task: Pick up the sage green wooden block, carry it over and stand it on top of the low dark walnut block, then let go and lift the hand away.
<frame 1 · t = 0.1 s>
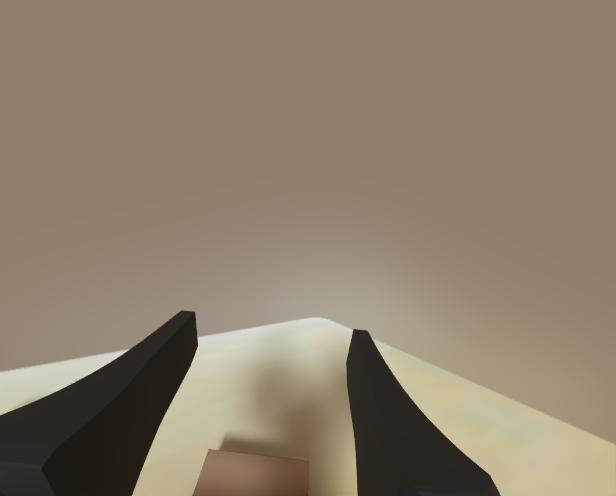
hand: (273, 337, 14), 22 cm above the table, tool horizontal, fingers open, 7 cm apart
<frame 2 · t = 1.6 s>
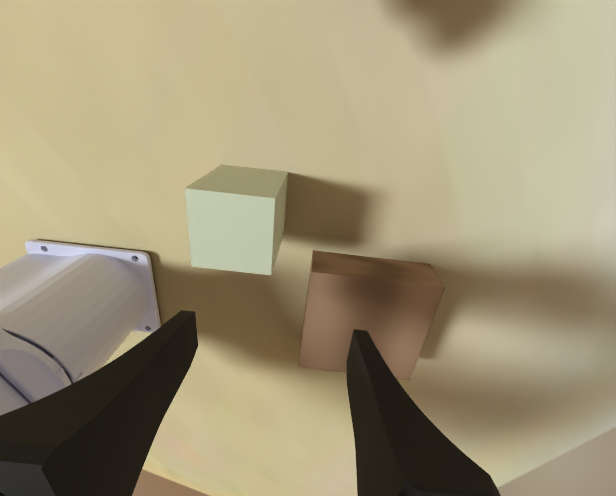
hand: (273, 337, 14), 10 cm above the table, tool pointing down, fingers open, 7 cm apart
sage block: (254, 200, 21), on the table
walnut block: (359, 302, 25), on the table
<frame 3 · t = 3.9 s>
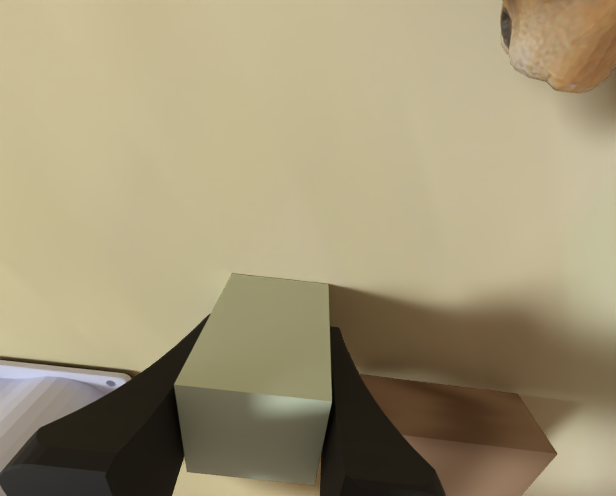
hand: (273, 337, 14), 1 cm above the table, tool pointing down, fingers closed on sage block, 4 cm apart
sage block: (277, 316, 15), on the table, touching gripper
walnut block: (413, 427, 19), on the table
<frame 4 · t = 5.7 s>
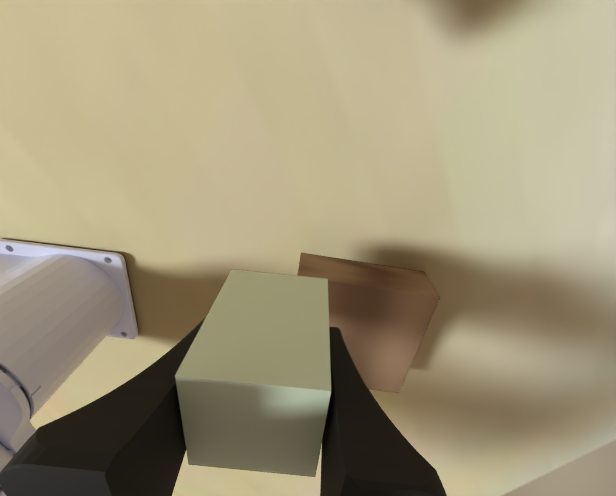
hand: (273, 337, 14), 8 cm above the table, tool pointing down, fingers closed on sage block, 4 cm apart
sage block: (277, 312, 15), point 7 cm above the table, touching gripper
walnut block: (349, 308, 24), on the table
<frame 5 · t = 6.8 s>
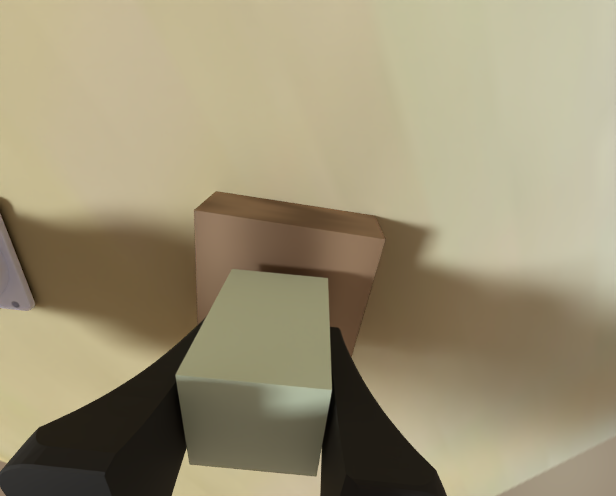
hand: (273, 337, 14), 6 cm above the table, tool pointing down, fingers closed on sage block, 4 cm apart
sage block: (277, 311, 15), point 4 cm above the table, touching gripper
walnut block: (287, 268, 19), on the table
when the fingers open (6 cm above the table, at t = 7.6 s): sage block drops 1 cm, point 3 cm above the table.
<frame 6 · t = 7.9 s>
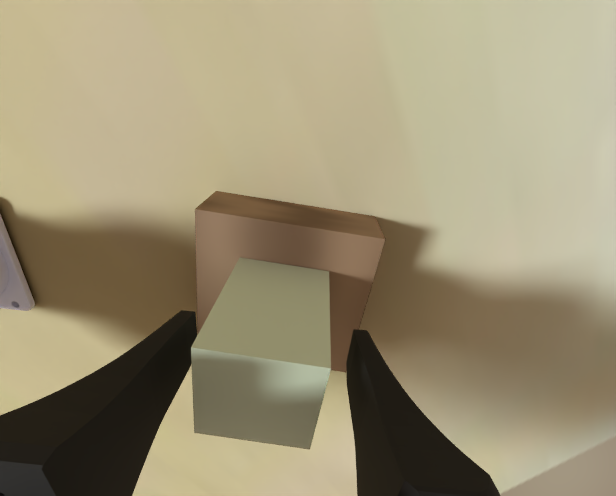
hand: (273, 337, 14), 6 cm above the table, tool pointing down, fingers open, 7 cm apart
sage block: (279, 300, 16), point 3 cm above the table
walnut block: (287, 268, 19), on the table
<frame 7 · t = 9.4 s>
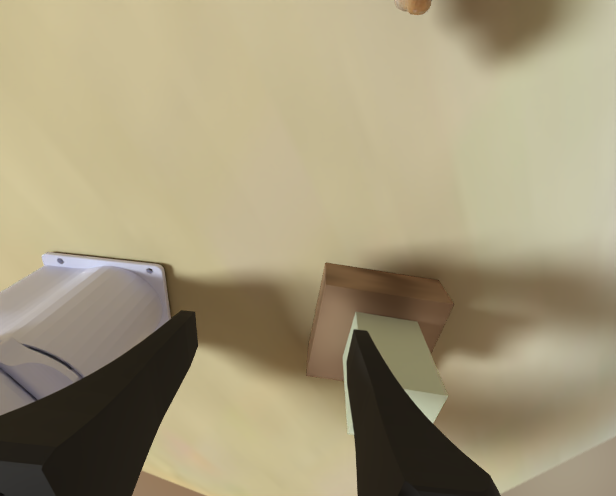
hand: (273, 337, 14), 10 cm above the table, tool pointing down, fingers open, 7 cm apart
sage block: (378, 340, 22), point 3 cm above the table
walnut block: (367, 313, 26), on the table
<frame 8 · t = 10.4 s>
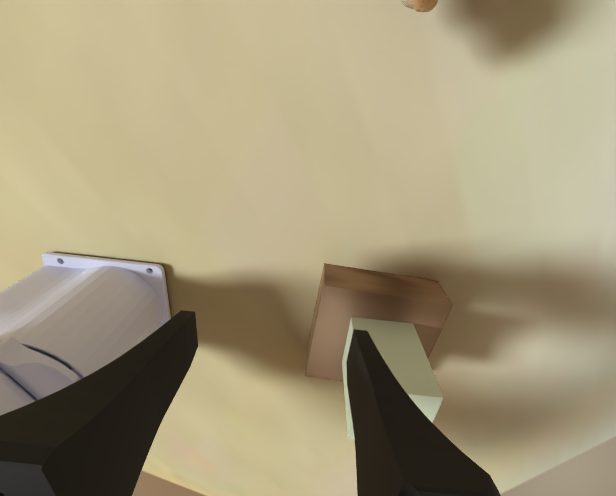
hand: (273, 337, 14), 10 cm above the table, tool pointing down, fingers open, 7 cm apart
sage block: (375, 343, 22), point 3 cm above the table
walnut block: (366, 313, 26), on the table
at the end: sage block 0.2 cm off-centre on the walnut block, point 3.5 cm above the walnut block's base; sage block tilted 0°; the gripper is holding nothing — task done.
